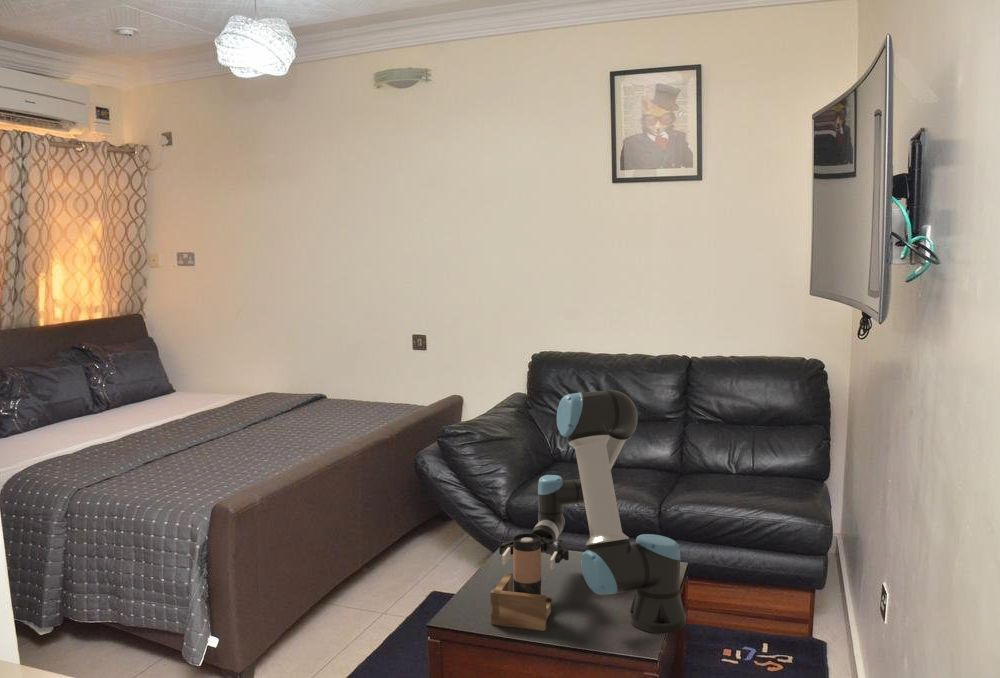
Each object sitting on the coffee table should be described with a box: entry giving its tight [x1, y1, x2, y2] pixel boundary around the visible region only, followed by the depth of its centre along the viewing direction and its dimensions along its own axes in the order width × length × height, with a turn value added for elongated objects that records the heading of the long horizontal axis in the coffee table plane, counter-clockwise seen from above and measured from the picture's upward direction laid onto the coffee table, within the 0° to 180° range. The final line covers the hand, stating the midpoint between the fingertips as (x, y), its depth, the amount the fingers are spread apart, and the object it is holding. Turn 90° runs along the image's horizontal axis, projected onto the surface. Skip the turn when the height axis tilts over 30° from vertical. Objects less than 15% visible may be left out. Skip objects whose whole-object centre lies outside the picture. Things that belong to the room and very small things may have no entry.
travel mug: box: [512, 533, 542, 595], centre depth 229 cm, size 8×8×20 cm
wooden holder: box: [489, 572, 553, 632], centre depth 230 cm, size 14×15×9 cm
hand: (527, 562), depth 230 cm, fingers open, 13 cm apart
